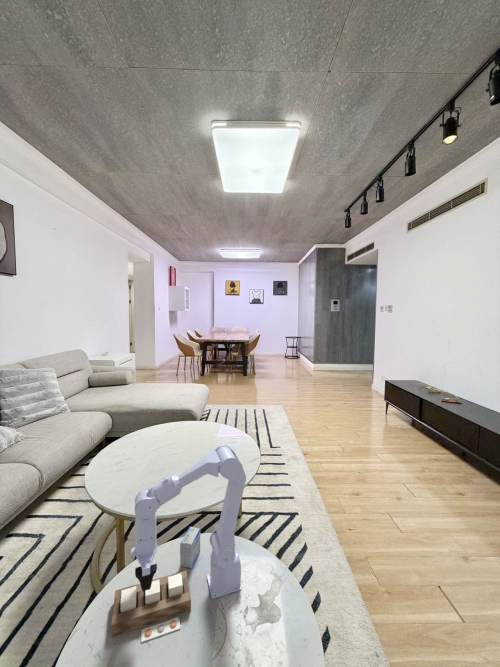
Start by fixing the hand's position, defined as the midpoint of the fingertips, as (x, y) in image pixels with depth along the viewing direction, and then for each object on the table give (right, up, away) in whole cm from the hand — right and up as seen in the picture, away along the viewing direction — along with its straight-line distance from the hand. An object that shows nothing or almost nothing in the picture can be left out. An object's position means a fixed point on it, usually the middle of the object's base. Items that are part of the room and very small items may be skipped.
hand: (146, 577), depth 83 cm
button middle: (+1, -7, +1) cm, 7 cm away
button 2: (+8, -7, +3) cm, 11 cm away
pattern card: (+6, -10, -5) cm, 13 cm away
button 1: (-5, -7, -1) cm, 8 cm away
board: (+1, -10, +1) cm, 10 cm away
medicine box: (+9, -9, +18) cm, 22 cm away
